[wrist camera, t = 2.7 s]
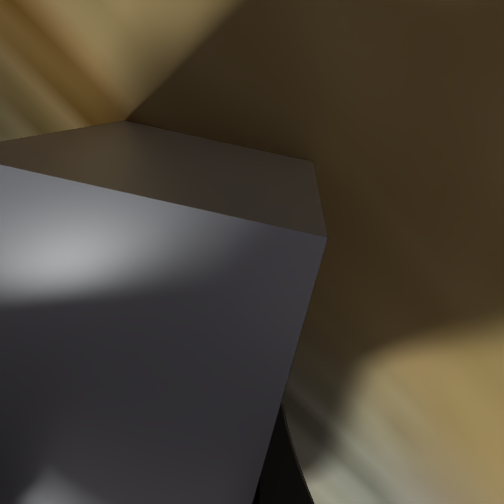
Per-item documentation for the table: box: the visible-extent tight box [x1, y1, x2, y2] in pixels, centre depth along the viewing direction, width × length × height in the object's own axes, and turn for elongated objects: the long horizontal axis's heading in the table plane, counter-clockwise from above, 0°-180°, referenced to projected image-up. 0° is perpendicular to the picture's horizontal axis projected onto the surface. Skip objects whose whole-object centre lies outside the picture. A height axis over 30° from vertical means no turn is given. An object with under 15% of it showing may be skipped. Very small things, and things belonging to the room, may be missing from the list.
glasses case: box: [0, 121, 328, 504], centre depth 11 cm, size 5×14×6 cm, turn 168°
